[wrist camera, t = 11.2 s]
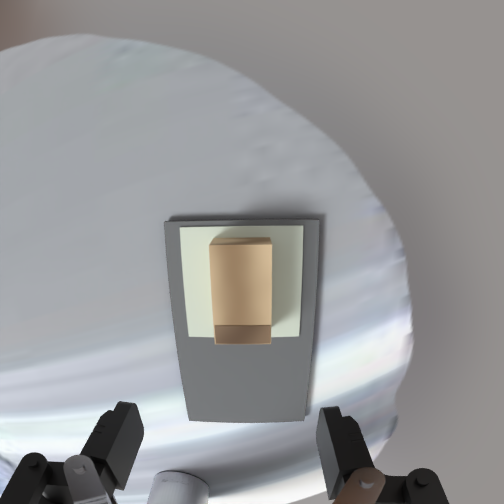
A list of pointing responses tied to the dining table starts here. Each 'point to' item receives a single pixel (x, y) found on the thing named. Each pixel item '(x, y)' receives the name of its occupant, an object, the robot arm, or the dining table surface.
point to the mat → (244, 355)
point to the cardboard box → (241, 289)
